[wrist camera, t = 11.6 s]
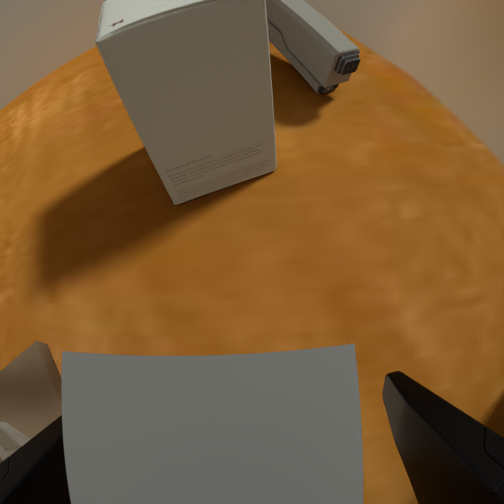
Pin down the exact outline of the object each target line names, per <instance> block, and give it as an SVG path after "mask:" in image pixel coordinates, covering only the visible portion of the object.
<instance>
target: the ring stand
mask: <svg viewBox="0 0 504 504" xmlns="http://www.w3.org/2000/svg"><path fill="white" fill-rule="evenodd" d="M61 415H62V379H61V376H60V374H59V372H58V370H57V367H56V365H55V362H54V360H53V358H52V355H51V353H50V350H49V348H48V345H47V344H44V343H41V342H38V341H36V342H34V343H33V344H32V345H31V346H30V347H28V348H27V349H26V350H25V351H24V352H22V353H21V354H20V355H19V356H18V357H17V358H15V359H14V360H13V361H12V362H11V363H10V364H9V365H7V366H6V367H5V368H4V369H3V370H2V371H1V372H0V463H1V462H2V461H4V460H5V459H6V458H7V457H9V456H10V455H11V454H13V453H14V452H15V451H16V450H18V449H19V448H20V447H21V446H23V445H24V444H25V443H27V442H28V441H29V440H30V439H32V438H33V437H34V436H35V435H37V434H38V433H39V432H41V431H42V430H43V429H44V428H46V427H47V426H48V425H49V424H51V423H52V422H53V421H54V420H56V419H57V418H58V417H60V416H61Z"/></svg>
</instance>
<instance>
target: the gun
mask: <svg viewBox="0 0 504 504" xmlns="http://www.w3.org/2000/svg"><path fill="white" fill-rule="evenodd" d="M266 11H267V24H268V37H269V41H270V42H271V43H272V44H273V45H274V46H275V47H276V48H277V49H278V50H279V51H280V52H281V53H282V54H283V55H284V57H285V58H286V59H287V60H288V61H289V62H290V63H291V64H292V65H293V66H294V67H295V69H296V70H297V71H298V72H299V73H300V74H301V75H302V76H303V77H304V79H305V80H306V81H307V82H308V83H309V84H310V86H311V87H312V88H313V89H314V90H315V91H316V93H318V94H319V93H320V94H322V93H325V92H328V91H331V90H334V89H335V88H337V87H338V85H339V83H342V82H346V81H348V80H349V78H350V76H351V73H353V72H355V71H356V70H357V67H358V65H359V62H360V59H359V52H360V50H359V49H358V47H357V46H356V45H355V44H353V43H352V42H351V41H350V40H349V39H348V38H347V37H346V36H345V35H344V34H343V33H342V32H341V31H339V30H338V29H337V28H336V27H335V26H334V25H333V24H331V23H330V22H329V21H328V20H327V19H326V18H324V17H323V16H322V15H321V14H320V13H318V12H317V11H316V10H315V9H314V8H312V7H311V6H310V5H309V4H307V3H306V2H305V1H303V0H266Z"/></svg>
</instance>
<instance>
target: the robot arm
mask: <svg viewBox="0 0 504 504" xmlns="http://www.w3.org/2000/svg"><path fill="white" fill-rule="evenodd" d="M383 401H384V404H385V408H386V411H387V415H388V419H389V422H390V426H391V430H392V434H393V437H394V441H395V443H396V446H397V449H398V451H399V454H400V456H401V459H402V461H403V464H404V466H405V469H406V471H407V474H408V477H409V479H410V482H411V485H412V487H413V490H414V493H415V495H416V498H417V501H418V503H419V504H504V437H503V436H501V435H499V434H498V433H496V432H494V431H493V430H491V429H489V428H488V427H486V426H485V427H484V425H483V424H481V423H480V422H478V421H477V420H475V419H473V418H472V417H470V416H469V415H467V414H466V413H464V412H462V411H461V410H459V409H458V408H456V407H455V406H453V405H452V404H450V403H448V402H447V401H445V400H444V399H442V398H441V397H439V396H438V395H436V394H435V393H433V392H431V391H430V390H428V389H427V388H425V387H424V386H422V385H421V384H419V383H418V382H416V381H415V380H413V379H411V378H410V377H408V376H407V375H405V374H404V373H402V372H401V371H395V372H392V373H388V374H387V375H386V376H385V382H384V388H383ZM0 504H71V500H70V494H69V487H68V480H67V473H66V464H65V454H64V443H63V427H62V415H61V416H60V417H58V418H57V419H56V420H54V421H53V422H52V423H51V424H49V425H48V426H47V427H46V428H44V429H43V430H42V431H41V432H39V433H38V434H37V435H35V436H34V437H33V438H32V439H30V440H29V441H28V442H27V443H25V444H24V445H23V446H21V447H20V448H19V449H18V450H16V451H15V452H14V453H13V454H11V455H10V456H9V457H7V458H6V459H5V460H4V461H2V462H1V463H0Z"/></svg>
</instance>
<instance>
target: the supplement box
mask: <svg viewBox="0 0 504 504" xmlns="http://www.w3.org/2000/svg"><path fill="white" fill-rule="evenodd" d="M96 45H97V47H98V49H99V52H100V54H101V56H102V58H103V61H104V63H105V65H106V67H107V70H108V72H109V74H110V76H111V78H112V80H113V83H114V85H115V87H116V89H117V91H118V93H119V95H120V97H121V100H122V102H123V104H124V106H125V108H126V110H127V112H128V114H129V116H130V118H131V120H132V122H133V124H134V126H135V129H136V131H137V133H138V135H139V137H140V139H141V141H142V143H143V145H144V147H145V149H146V151H147V153H148V155H149V157H150V159H151V161H152V162H153V164H154V166H155V168H156V170H157V172H158V174H159V176H160V178H161V180H162V182H163V184H164V186H165V188H166V190H167V192H168V193H169V195H170V197H171V199H172V201H173V204H174V205H178V204H181V203H183V202H186V201H189V200H192V199H194V198H197V197H200V196H203V195H205V194H208V193H211V192H214V191H217V190H220V189H222V188H225V187H229V186H232V185H234V184H237V183H240V182H243V181H246V180H249V179H252V178H255V177H258V176H261V175H264V174H267V173H269V172H272V171H274V170H275V169H276V143H275V127H274V108H273V92H272V79H271V64H270V51H269V37H268V24H267V11H266V0H107V1H105V2H104V3H103V4H102V9H101V14H100V18H99V25H98V31H97V37H96Z"/></svg>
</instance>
